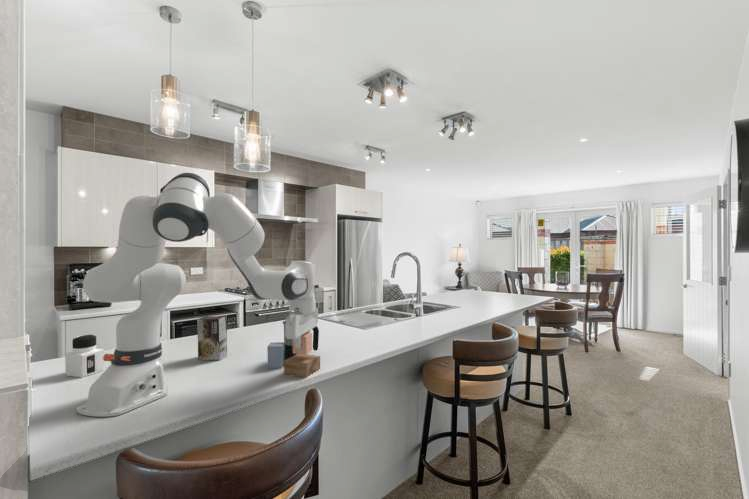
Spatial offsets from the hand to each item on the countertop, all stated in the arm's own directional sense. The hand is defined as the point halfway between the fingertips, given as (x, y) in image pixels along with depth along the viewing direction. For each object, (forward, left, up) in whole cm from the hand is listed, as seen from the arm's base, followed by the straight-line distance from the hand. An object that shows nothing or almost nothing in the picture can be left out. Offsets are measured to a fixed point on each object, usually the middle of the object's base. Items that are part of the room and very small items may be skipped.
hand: (302, 345), depth 129 cm
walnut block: (0, 0, -10) cm, 10 cm away
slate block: (+4, +12, -9) cm, 16 cm away
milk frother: (+18, +10, -10) cm, 22 cm away
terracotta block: (0, 0, -2) cm, 2 cm away
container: (-16, +74, -10) cm, 76 cm away
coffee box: (+8, +41, -10) cm, 43 cm away
